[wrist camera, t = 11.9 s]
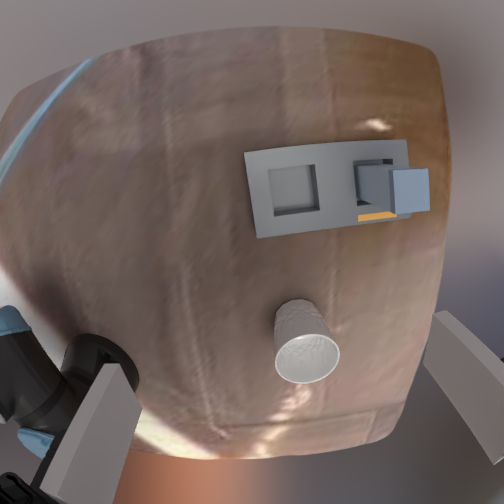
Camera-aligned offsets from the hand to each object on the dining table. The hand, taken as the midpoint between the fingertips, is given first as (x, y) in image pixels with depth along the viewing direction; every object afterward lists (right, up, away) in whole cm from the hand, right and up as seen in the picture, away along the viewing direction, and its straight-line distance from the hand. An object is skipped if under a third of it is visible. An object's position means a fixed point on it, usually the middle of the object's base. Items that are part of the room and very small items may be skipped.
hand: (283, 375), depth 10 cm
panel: (+8, +14, +25) cm, 30 cm away
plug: (+13, +14, +24) cm, 31 cm away
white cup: (+5, -5, +32) cm, 32 cm away
